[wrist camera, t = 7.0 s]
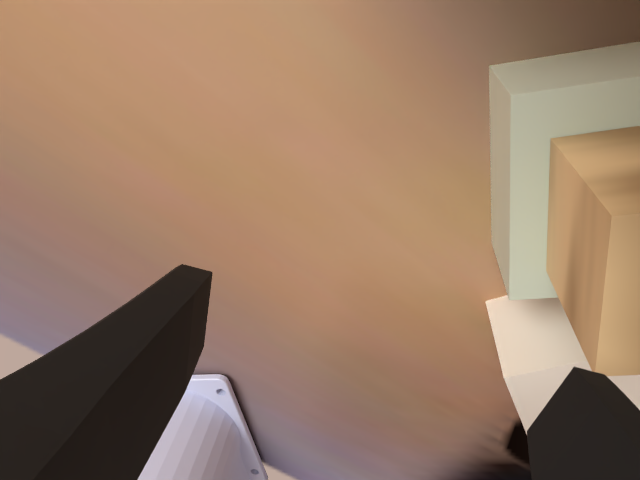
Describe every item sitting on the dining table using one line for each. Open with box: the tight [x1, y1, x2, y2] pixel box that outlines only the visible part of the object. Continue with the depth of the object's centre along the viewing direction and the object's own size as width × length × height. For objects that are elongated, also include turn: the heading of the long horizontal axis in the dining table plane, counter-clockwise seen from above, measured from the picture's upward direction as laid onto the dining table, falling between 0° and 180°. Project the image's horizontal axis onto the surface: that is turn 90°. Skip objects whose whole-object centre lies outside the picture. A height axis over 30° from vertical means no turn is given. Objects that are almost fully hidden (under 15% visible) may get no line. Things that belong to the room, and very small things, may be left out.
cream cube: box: [485, 295, 640, 434], centre depth 19 cm, size 4×4×4 cm
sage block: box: [489, 41, 640, 300], centre depth 16 cm, size 7×7×4 cm
